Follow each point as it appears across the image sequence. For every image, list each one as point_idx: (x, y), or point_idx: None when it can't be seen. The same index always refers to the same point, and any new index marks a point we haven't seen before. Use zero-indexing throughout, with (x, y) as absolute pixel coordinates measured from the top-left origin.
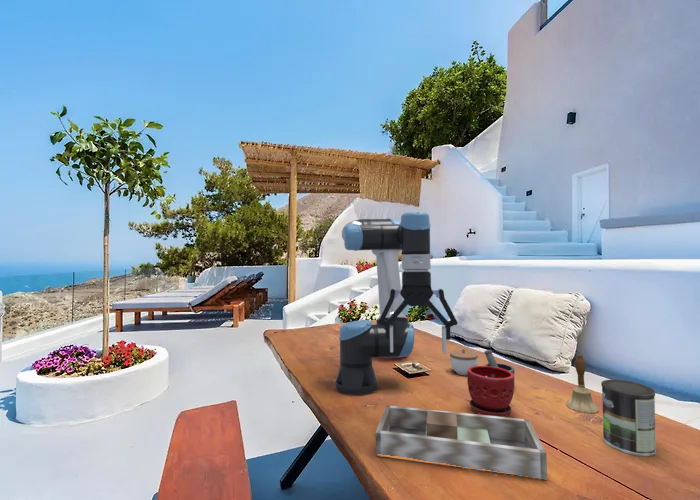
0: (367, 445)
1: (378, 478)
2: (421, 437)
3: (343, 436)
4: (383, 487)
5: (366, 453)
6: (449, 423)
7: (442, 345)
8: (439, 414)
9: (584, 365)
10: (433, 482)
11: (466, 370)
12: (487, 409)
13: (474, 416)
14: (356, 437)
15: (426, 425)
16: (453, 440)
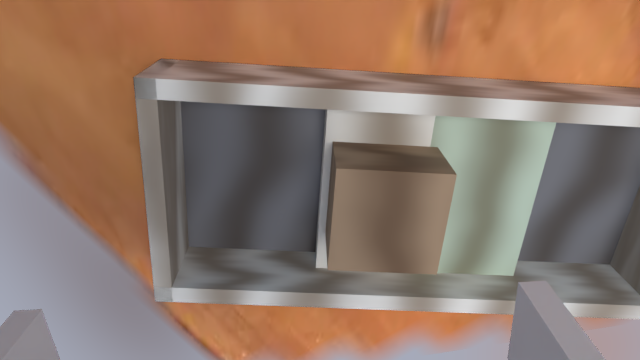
0: (132, 207)
1: (205, 333)
2: (309, 304)
3: (30, 169)
4: (223, 356)
5: (143, 247)
6: (412, 259)
7: (540, 341)
8: (383, 195)
9: None
10: (336, 324)
11: None
12: None
13: (534, 120)
14: (78, 167)
15: (326, 119)
16: (409, 302)
